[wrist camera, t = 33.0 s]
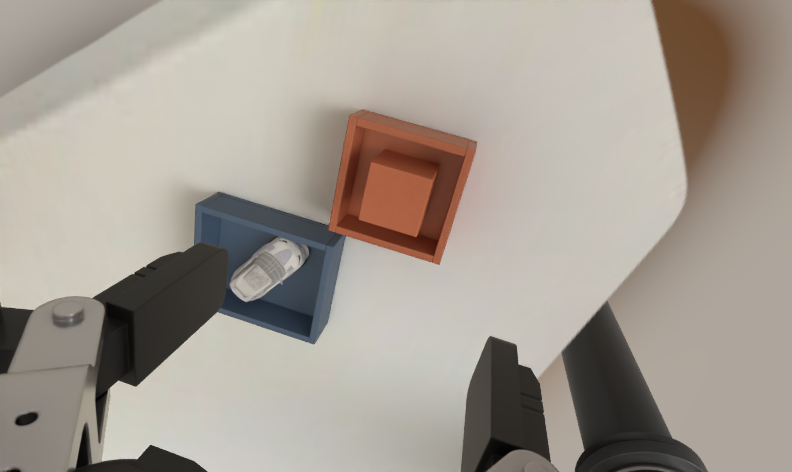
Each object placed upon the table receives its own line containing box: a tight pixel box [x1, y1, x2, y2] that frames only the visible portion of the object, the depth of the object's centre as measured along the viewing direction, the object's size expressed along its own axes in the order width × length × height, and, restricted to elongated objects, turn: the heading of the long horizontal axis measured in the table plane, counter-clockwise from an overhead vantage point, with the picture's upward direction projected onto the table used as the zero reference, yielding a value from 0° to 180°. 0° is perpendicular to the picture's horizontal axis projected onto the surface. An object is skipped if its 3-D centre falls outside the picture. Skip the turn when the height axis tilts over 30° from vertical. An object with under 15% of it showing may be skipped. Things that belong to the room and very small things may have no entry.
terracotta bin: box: [328, 110, 477, 265], centre depth 33 cm, size 9×9×4 cm
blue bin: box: [194, 192, 345, 344], centre depth 39 cm, size 12×10×4 cm
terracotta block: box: [358, 149, 440, 237], centre depth 32 cm, size 4×4×4 cm
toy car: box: [229, 236, 309, 302], centre depth 39 cm, size 4×8×3 cm, turn 130°
